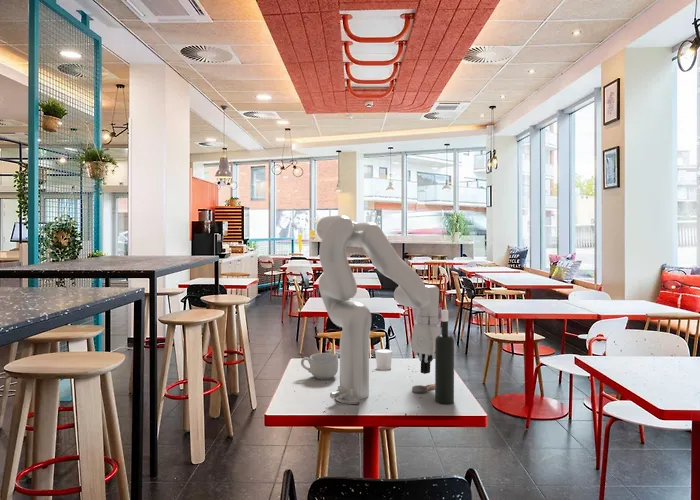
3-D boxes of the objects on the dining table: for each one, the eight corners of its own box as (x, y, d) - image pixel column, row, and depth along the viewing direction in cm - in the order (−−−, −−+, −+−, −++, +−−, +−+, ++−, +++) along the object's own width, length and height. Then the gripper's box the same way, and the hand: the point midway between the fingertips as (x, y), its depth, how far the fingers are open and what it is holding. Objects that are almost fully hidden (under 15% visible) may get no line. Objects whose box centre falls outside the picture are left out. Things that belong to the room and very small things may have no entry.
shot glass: (392, 366, 206) (392, 348, 206) (392, 370, 199) (392, 352, 199) (375, 365, 207) (375, 348, 206) (374, 370, 200) (374, 352, 200)
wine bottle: (454, 409, 155) (454, 311, 154) (435, 408, 156) (435, 311, 155) (453, 403, 161) (453, 308, 160) (435, 402, 162) (435, 308, 161)
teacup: (340, 374, 194) (340, 353, 194) (335, 382, 184) (335, 360, 183) (305, 372, 197) (305, 352, 196) (298, 380, 186) (297, 358, 186)
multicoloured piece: (419, 394, 165) (419, 382, 165) (409, 390, 169) (409, 378, 169) (446, 387, 173) (446, 375, 172) (436, 384, 177) (436, 372, 176)
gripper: (404, 318, 180) (402, 369, 181) (436, 324, 169) (434, 379, 169) (418, 316, 185) (416, 366, 185) (450, 322, 174) (449, 376, 174)
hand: (425, 372), depth 177 cm, fingers closed
